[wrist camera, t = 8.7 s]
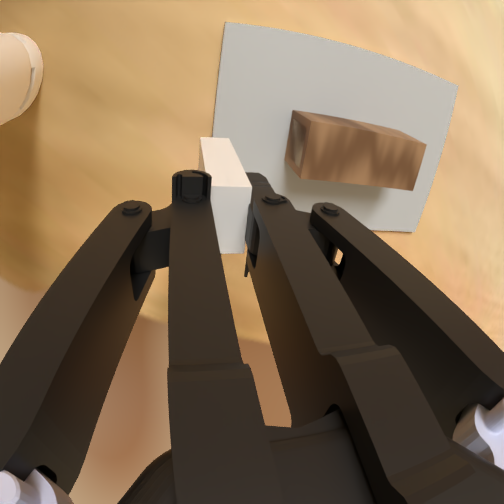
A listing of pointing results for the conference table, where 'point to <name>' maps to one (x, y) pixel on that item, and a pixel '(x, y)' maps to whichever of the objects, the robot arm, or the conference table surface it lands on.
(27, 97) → the bottle
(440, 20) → the conference table surface
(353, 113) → the felt mat
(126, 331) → the robot arm
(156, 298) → the conference table surface
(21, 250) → the conference table surface
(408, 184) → the walnut block
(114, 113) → the conference table surface
